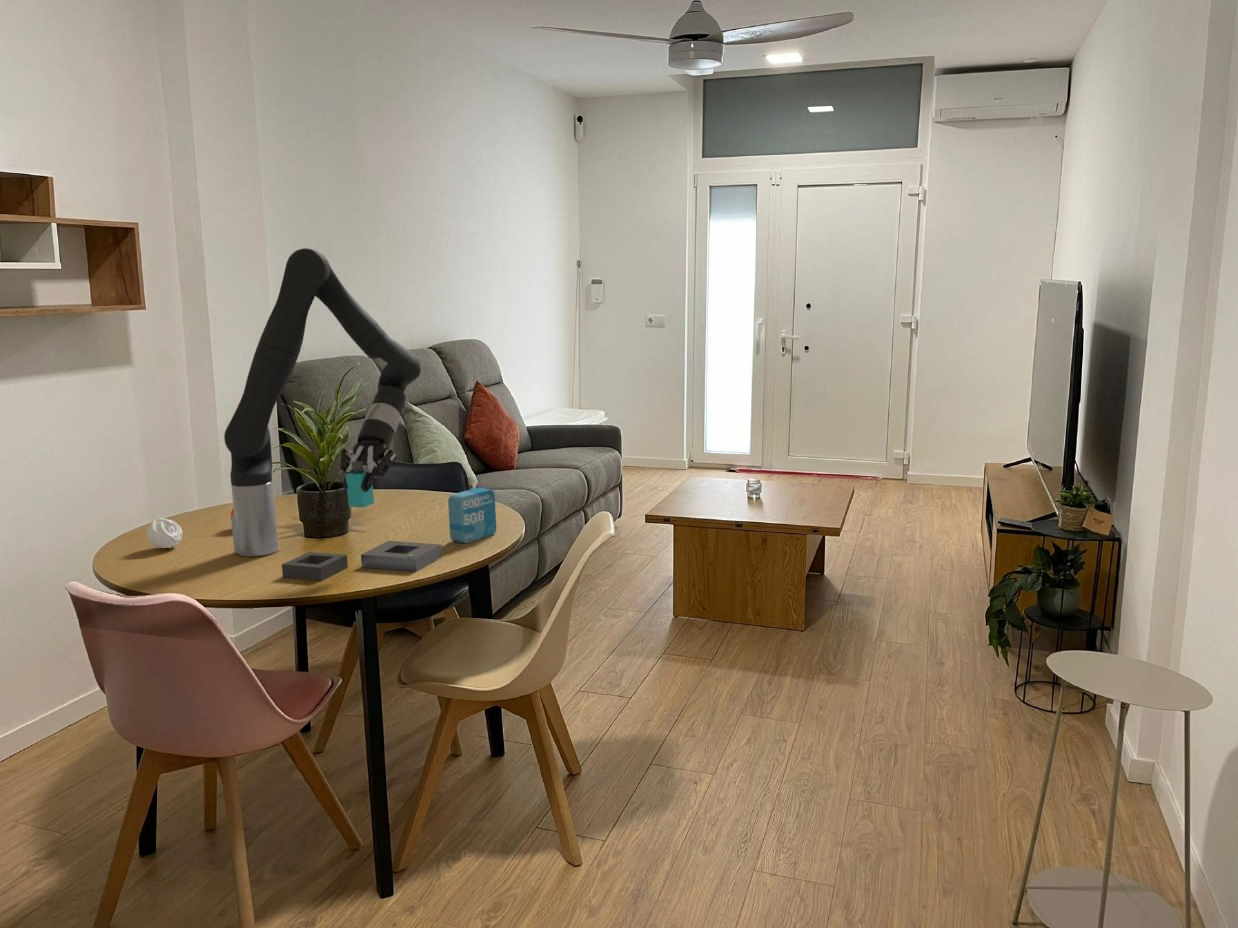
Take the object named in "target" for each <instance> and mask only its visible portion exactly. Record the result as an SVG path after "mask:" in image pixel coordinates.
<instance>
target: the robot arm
mask: <svg viewBox="0 0 1238 928" xmlns="http://www.w3.org/2000/svg"><path fill="white" fill-rule="evenodd" d="M315 298H317V299H318V300H319V301H321V302H322V304H323V305H324V306H325V307H326V308H328V310H329V311H330V313H332V315H333V316H334V317H335V319H336V320H337V321H338V323H339V325H341V327H342V328H343V329H344V331H345V332H346V334H347V335H348V336H349V338H351V339H352V341H353V342H354V343H355V344H356V345H357V346H358V347H359V349H360V350H361V351H362V352H363V353H364V354H365V356H367V357H368V358H369V359H371V360H375V359H381V360H383V361H384V362H386V365H384V367H383V369H382V371H381V373H380V375H379V379H378V384H377V391H376V393H375V396H374V399H373V401H372V404H371V406H370V407H369V410H367V413H366V415H365V418H364V419H363V420H364V421H363V423H362V424H361V425H362V426H361V428H360V430H359V433H358V435H357V443H356V444H355V445H354V446H353V447H352V449H348V450H347V449H346V448H342V449H341V450H340V467H339V469H340V470H341V471H342V472H343V474H344V475H345V476H344V478H343V482H342V487H343V489H344V490H345V491H346V492H347V483H346V474H348V473H350V472H353V470H352V462H353V461H363V468H364V467H365V466H367V469H366V471H367V472H368V473H366V474H365V477H364V479H363V482H362V484H361V489H362V490H363V491H364V492H368V490H370V488H371V486H373V483H374V481H375V479H376V478H377V477H384V476H385V475H386V473H387V472H388V471H389V470H390V468H391V466H393V464H395V461H396V460H397V459H398V455H397V454H396V453H395V452H394V451H393V449H390V447H391V445H392V442H393V440H394V437H395V434H396V431H397V429H398V426H399V422H400V417H401V415H402V413H403V410H404V408H405V404H406V402H407V401H406V400H407V399H406V395H405V390H406V389H407V387H408V386H409V385H410V384H412V383H413V382H414V381H415V380H417V379H418V378H419V377H420V376H421V373H422V372H421V371H422V369H421V363H420V362H419V360H418V358H417V356H416V355H415V354H414V353H412V352H411V351H410V350H409V349H407V348H406V347H405V346H403V345H401V343H399V342H398V341H396V340H394V339H393V338H391V337H390V336H389V334H388V333H386V331H385V330H384V329H383V328H382V326H380V325H379V323H378V322H377V321H376V320H375V318H373V317H372V316H371V315H370V314H369V313H368V312H367V311H366V310H365V308H363V307H362V306H361V304H359V302H358V301H357V300H356V299H355V298H354V297H353V296H352V295H351V294H350V292H349V291H348V290H347V288H346V287H345V286H344V284H343V283H342V282H341V281H340V279H339V277H338V275H336V272H335V271H334V270H333V268H332V266H331V265H330V262H329V261H328V259H327V257H326V256H325V255H324V254H323V253H321V252H319V251H318V250H315V249H312V248H307V247H306V248H304V247H303V248H300V249H297V250H295V251H294V252H293V253H291V254H290V255H289V257H288V259H287V261H286V264H285V268H284V273H283V277H282V281H281V284H280V288H279V293H278V297H277V299H276V302H275V305H274V306H273V308H272V310H271V312H270V315H269V317H268V320H267V322H266V323H265V326H264V328H263V331H262V332H261V335H260V338H259V341H258V344H257V346H256V349H255V352H254V354H253V356H252V357H253V358H252V361H251V364H250V367H249V371H248V374H247V377H246V381H245V386H244V389H243V393H242V395H241V398H240V401H239V403H238V405H237V407H236V409H235V410H234V411H235V412H234V413H233V416H232V418H231V419H230V421H229V423H228V425H227V426H226V429H225V431H224V443H225V444H224V445H225V446H226V449H227V450H228V451H229V452H230V455H231V456H230V458H231V468H230V474H229V475H230V476H229V477H230V485H231V495H232V496H231V497H232V503H233V508H234V514H233V515H232V516H231V515H230V519H231V530H232V539H233V540H232V541H233V549H234V550H233V551H234V554H236V555H239V556H241V557H261V556H267V555H270V554H274V553H276V552H277V551H279V549H280V548H279V539H278V529H277V517H276V505H275V495H274V485H273V457H272V444H271V443H272V441H271V432H270V430H269V424H270V420H271V416H272V414H273V411H274V408H275V405H276V403H277V401H278V400H279V398H280V396H281V394H282V392H283V391H284V389H285V387H286V386H287V384H288V382H289V379H290V378H291V375H292V374H293V371H294V369H295V366H296V364H297V361H298V358H299V355H300V353H301V350H302V347H303V346H302V345H303V341H304V337H305V333H306V332H305V331H306V323H307V318H308V315H309V311H310V308H311V306H312V304H313V301H314V300H315Z"/></svg>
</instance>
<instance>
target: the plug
mask: <svg viewBox="0 0 1238 928" xmlns="http://www.w3.org/2000/svg"><path fill="white" fill-rule="evenodd" d="M352 470H353V472H350V473H348V474H346V475H345V476H346V483H347V491H346V492H347V500H348V501H347V502H348V507H349V508H366V507H368V506H371V505H374V504H375V497H374V487H373V485H372V486H371V488H370V490H368V492H364V491H363V490H362V489H361V484H362V482H363V479H364V477H365V474H366V473H368V472H367V470H364V467H363V461H353V462H352Z"/></svg>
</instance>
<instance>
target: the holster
mask: <svg viewBox="0 0 1238 928" xmlns="http://www.w3.org/2000/svg"><path fill="white" fill-rule="evenodd" d="M346 569H348V554H339V553H337V554H336V553H329V552H328V553H327V552H315V551H314V552H313V551H308V552H306V553H304V554H302V555H300V556H297V557H295V558H292V559H290V560H288V561H286V562H284V563H282V564H281V572H282V578H284V579H285V577H286V579H295V578H300V579H299V580H306V579H308V581H317V580H320V582H322V581H324V580H326V579H329V578H330V577H332V576H334V575H336V574H339V572H342V571H344V570H346Z"/></svg>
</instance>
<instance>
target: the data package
mask: <svg viewBox="0 0 1238 928" xmlns="http://www.w3.org/2000/svg"><path fill="white" fill-rule="evenodd" d="M447 504H448V505H447V506H448V522H449V536H450V537H449V538H450V540H452V541H453V542H457V543H462V544H469V543H471V542H470V541H472V542H475V540H476V541H479V540H482V539H485V538H487V537H488V536H489V537H491V536H493V535H495V533H496V532H497V514H496V513H497V512H496V495H495V491H494V490H493V489H491V488H483V487H475V488H472V489H468V490H464V491H461V492H456V493H453V494H450V495H449V497H448V500H447ZM481 538H482V539H481ZM468 542H469V543H468Z"/></svg>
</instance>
